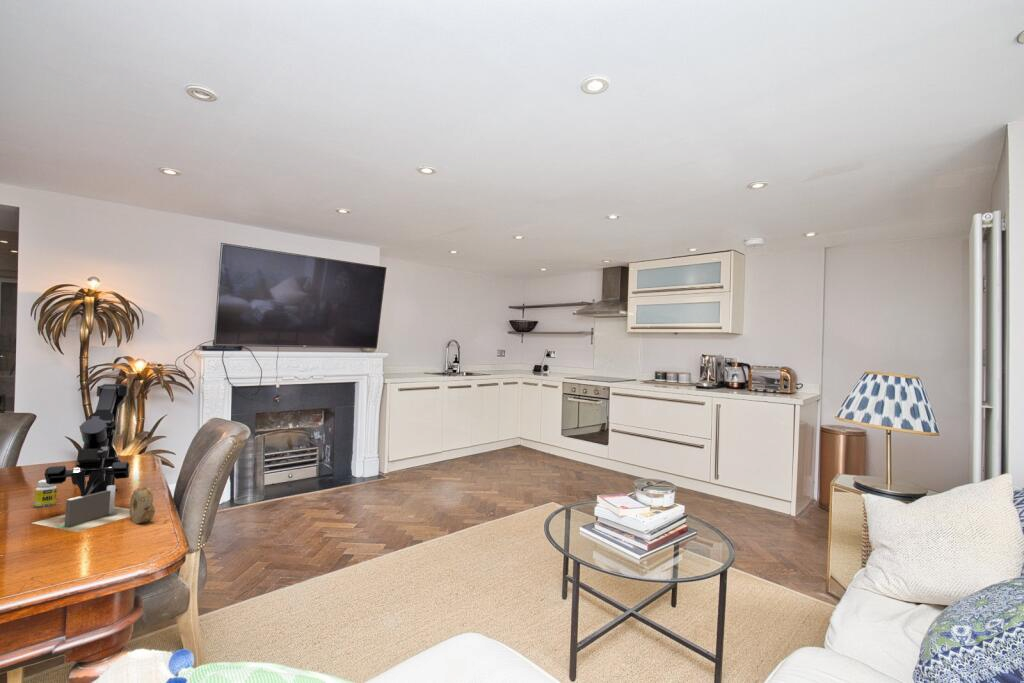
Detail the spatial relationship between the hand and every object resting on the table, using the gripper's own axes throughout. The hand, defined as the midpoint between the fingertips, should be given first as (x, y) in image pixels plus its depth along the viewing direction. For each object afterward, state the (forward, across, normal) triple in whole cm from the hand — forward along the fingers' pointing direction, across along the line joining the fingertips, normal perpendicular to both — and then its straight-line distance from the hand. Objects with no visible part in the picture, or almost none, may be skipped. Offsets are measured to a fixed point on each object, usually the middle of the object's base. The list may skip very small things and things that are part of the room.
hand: (83, 497), depth 133 cm
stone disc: (+11, +14, -2) cm, 18 cm away
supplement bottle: (-8, -12, +18) cm, 23 cm away
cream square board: (+4, +2, +5) cm, 7 cm away
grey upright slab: (+6, +2, +2) cm, 7 cm away
